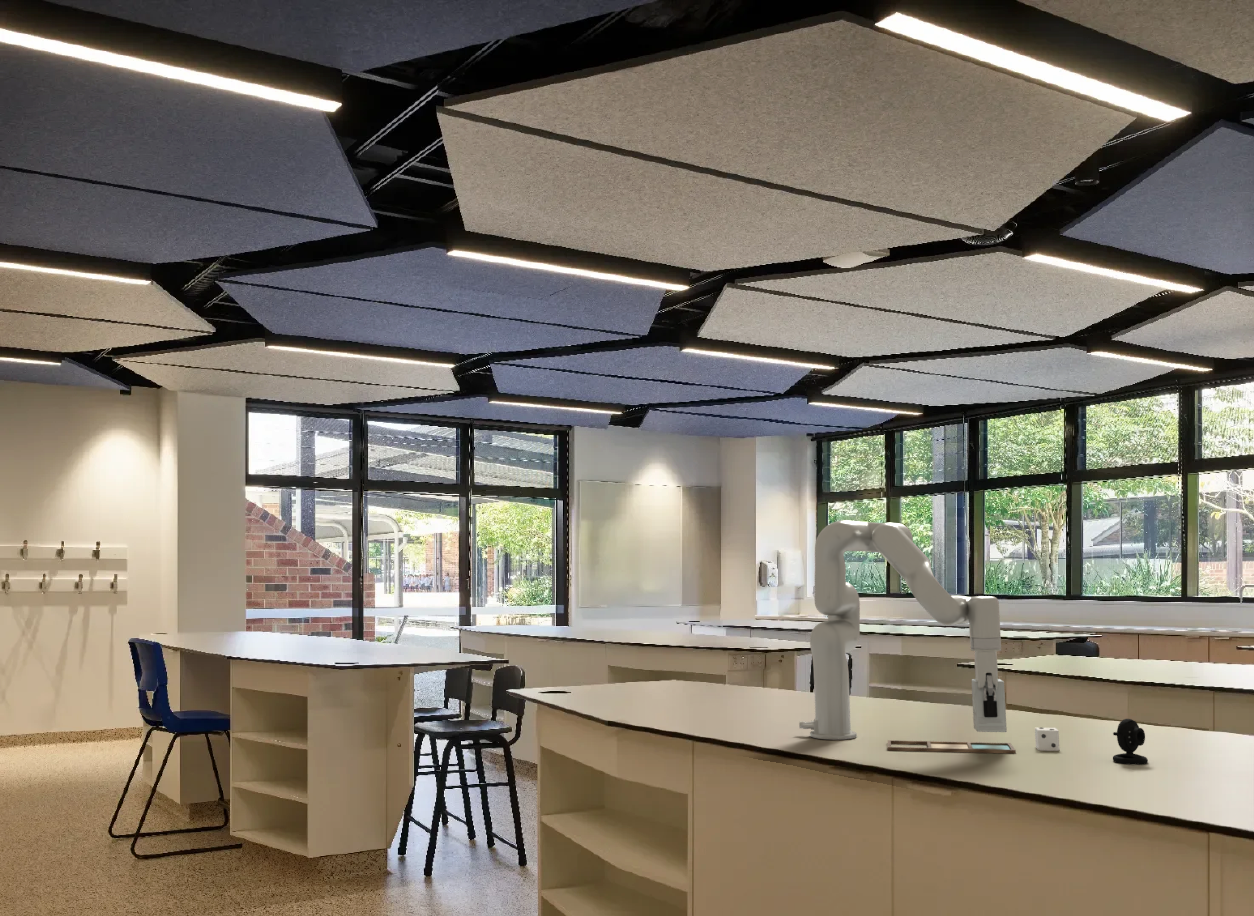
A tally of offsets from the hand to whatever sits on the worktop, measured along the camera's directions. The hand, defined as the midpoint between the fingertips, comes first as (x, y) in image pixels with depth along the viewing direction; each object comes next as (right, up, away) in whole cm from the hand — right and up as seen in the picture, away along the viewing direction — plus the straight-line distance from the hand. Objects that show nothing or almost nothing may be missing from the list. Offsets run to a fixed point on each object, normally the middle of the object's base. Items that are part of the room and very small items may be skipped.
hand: (989, 714), depth 276 cm
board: (-10, -9, +1) cm, 13 cm away
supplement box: (0, -4, 0) cm, 4 cm away
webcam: (+26, -6, -21) cm, 34 cm away
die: (+14, -8, -1) cm, 17 cm away
